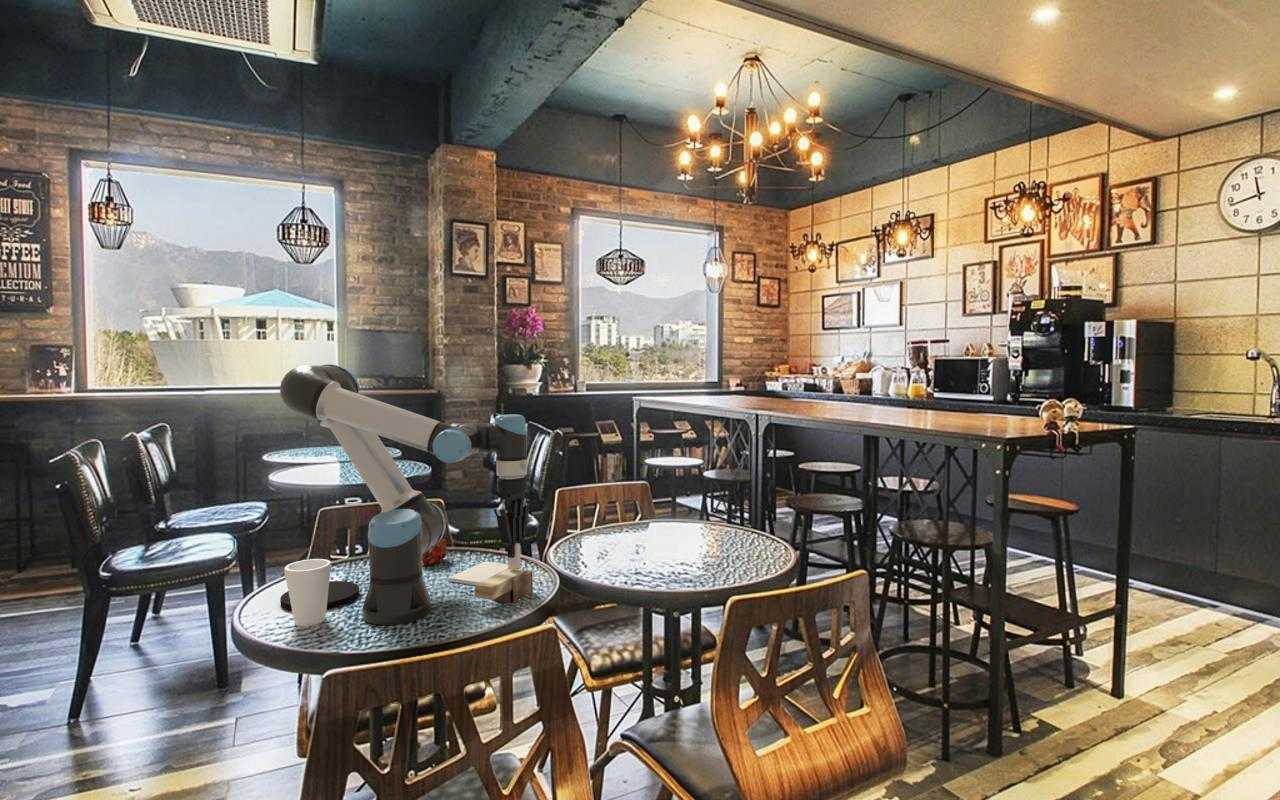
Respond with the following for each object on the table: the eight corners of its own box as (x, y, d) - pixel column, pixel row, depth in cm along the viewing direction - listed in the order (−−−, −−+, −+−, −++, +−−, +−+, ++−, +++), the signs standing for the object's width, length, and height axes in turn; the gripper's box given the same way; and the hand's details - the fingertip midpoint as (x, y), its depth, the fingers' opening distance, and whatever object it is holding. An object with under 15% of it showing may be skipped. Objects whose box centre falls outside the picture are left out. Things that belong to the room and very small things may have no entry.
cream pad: (484, 587, 178) (484, 583, 177) (448, 581, 182) (448, 577, 182) (519, 569, 192) (519, 566, 192) (484, 564, 197) (484, 561, 197)
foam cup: (321, 610, 162) (319, 556, 161) (340, 619, 156) (338, 563, 155) (279, 622, 154) (277, 566, 154) (298, 632, 149) (295, 574, 148)
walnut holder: (513, 603, 165) (512, 581, 165) (488, 599, 168) (488, 577, 168) (532, 592, 173) (532, 571, 172) (509, 589, 176) (508, 568, 175)
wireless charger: (370, 588, 178) (370, 580, 178) (339, 613, 161) (339, 605, 160) (303, 588, 179) (303, 581, 179) (265, 613, 161) (265, 605, 161)
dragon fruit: (439, 561, 206) (431, 579, 195) (415, 546, 205) (405, 564, 193) (455, 539, 206) (448, 556, 194) (431, 524, 204) (422, 540, 192)
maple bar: (492, 599, 159) (492, 587, 159) (475, 597, 161) (474, 584, 161) (525, 582, 172) (525, 570, 172) (509, 579, 174) (509, 568, 174)
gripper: (509, 481, 163) (511, 578, 164) (539, 473, 174) (541, 563, 176) (483, 479, 166) (486, 574, 167) (514, 471, 177) (516, 560, 179)
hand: (514, 568), depth 171 cm, fingers closed
